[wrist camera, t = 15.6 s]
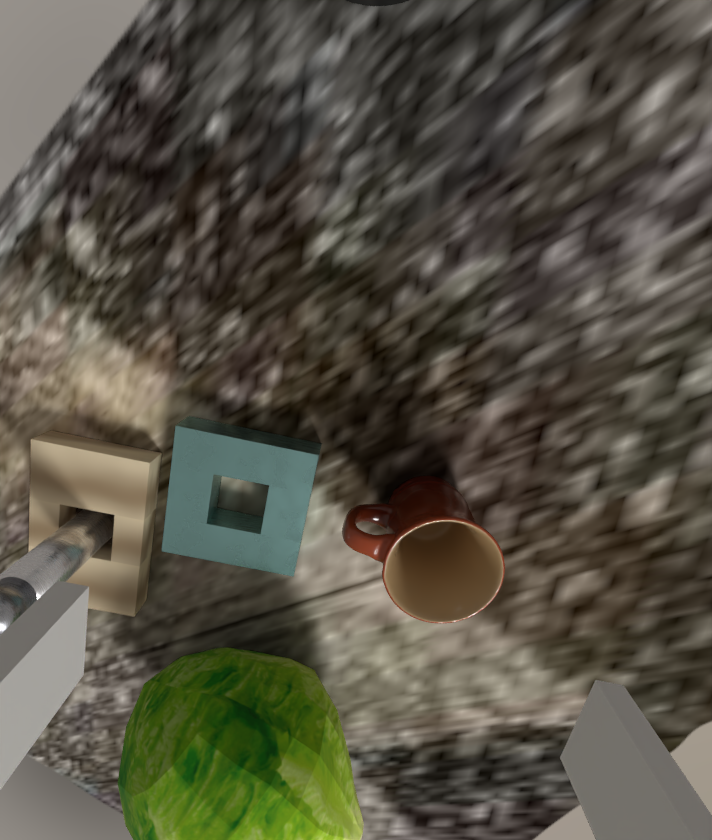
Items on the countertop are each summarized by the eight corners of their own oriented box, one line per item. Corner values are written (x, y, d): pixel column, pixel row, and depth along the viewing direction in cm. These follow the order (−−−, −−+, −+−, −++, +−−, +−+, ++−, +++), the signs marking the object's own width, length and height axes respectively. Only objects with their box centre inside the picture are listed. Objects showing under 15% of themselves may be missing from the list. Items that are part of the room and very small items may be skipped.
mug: (484, 479, 41) (524, 537, 31) (451, 558, 43) (478, 636, 33) (360, 442, 40) (361, 490, 30) (332, 525, 42) (325, 595, 32)
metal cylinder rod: (83, 499, 42) (-49, 596, 28) (122, 506, 42) (9, 607, 28) (81, 532, 43) (-47, 642, 29) (119, 539, 43) (9, 652, 29)
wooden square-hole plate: (50, 430, 40) (30, 439, 37) (161, 452, 40) (149, 463, 38) (45, 580, 44) (27, 597, 42) (146, 599, 45) (134, 616, 42)
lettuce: (291, 792, 52) (260, 1023, 35) (124, 662, 47) (-3, 861, 30) (413, 707, 48) (442, 921, 32) (246, 557, 43) (178, 718, 27)
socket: (188, 416, 39) (175, 425, 36) (321, 443, 40) (318, 455, 37) (174, 533, 43) (161, 551, 40) (297, 557, 43) (293, 576, 40)
